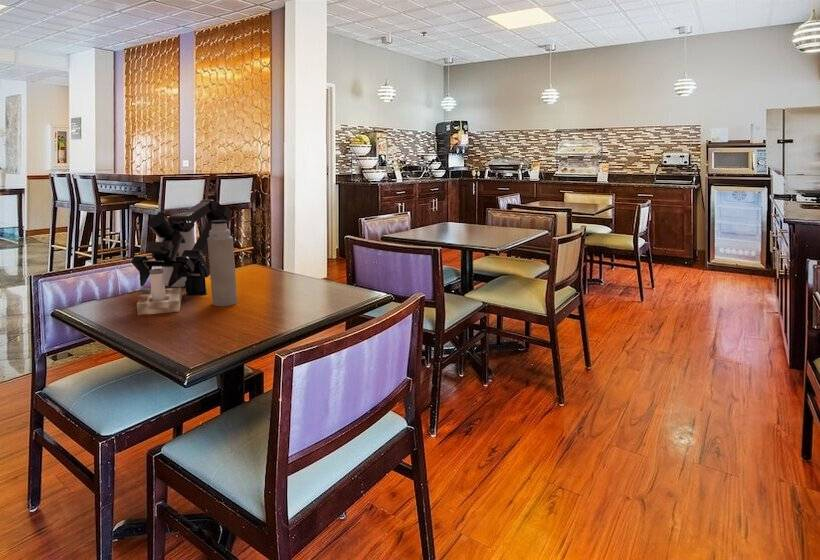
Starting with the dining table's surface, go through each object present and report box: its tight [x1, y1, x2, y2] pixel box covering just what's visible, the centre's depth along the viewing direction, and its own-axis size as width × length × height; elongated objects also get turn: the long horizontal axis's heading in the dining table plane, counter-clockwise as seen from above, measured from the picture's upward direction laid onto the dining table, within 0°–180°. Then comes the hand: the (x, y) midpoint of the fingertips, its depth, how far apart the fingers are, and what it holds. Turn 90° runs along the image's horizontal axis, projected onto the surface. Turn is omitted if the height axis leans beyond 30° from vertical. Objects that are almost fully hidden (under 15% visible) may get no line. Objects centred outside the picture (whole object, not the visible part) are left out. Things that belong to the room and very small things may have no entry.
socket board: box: [136, 287, 183, 316], centre depth 179 cm, size 12×20×5 cm, turn 20°
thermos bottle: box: [207, 220, 238, 307], centre depth 180 cm, size 8×8×28 cm
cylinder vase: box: [158, 226, 196, 288], centre depth 209 cm, size 12×12×25 cm
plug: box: [149, 268, 166, 302], centre depth 174 cm, size 4×4×13 cm
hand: (155, 286), depth 172 cm, fingers open, 9 cm apart
